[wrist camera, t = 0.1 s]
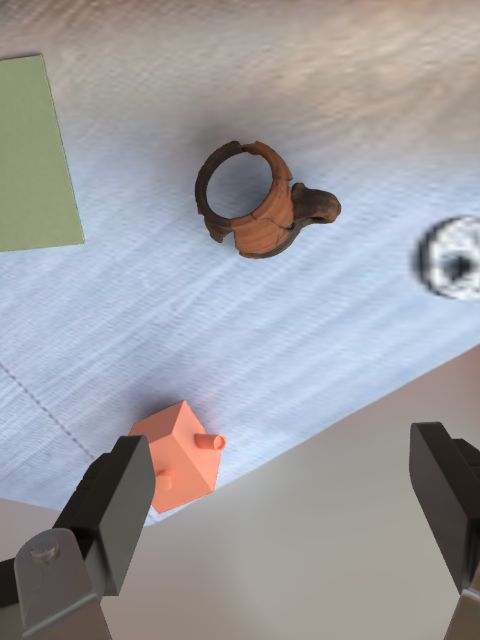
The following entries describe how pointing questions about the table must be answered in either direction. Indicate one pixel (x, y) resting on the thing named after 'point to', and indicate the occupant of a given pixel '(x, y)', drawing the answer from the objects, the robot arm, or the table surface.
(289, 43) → the table surface
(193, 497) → the pink cube teapot
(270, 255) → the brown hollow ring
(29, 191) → the desk mat
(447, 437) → the robot arm
